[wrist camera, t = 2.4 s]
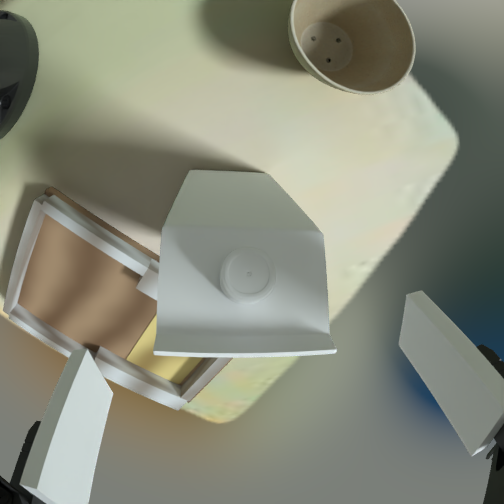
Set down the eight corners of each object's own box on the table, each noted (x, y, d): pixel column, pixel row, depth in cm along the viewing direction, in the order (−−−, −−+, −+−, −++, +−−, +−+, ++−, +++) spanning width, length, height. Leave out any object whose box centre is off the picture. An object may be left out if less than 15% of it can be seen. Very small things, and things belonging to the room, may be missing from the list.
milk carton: (261, 246, 30) (318, 405, 13) (187, 243, 29) (162, 409, 12) (269, 173, 28) (359, 272, 10) (189, 169, 27) (143, 267, 9)
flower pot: (289, 108, 25) (313, 105, 19) (257, 9, 21) (271, -23, 15) (385, 90, 25) (429, 87, 19) (357, -2, 21) (393, -25, 14)
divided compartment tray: (14, 299, 30) (2, 313, 27) (51, 186, 25) (36, 194, 22) (189, 396, 38) (188, 414, 35) (263, 316, 34) (268, 335, 31)
